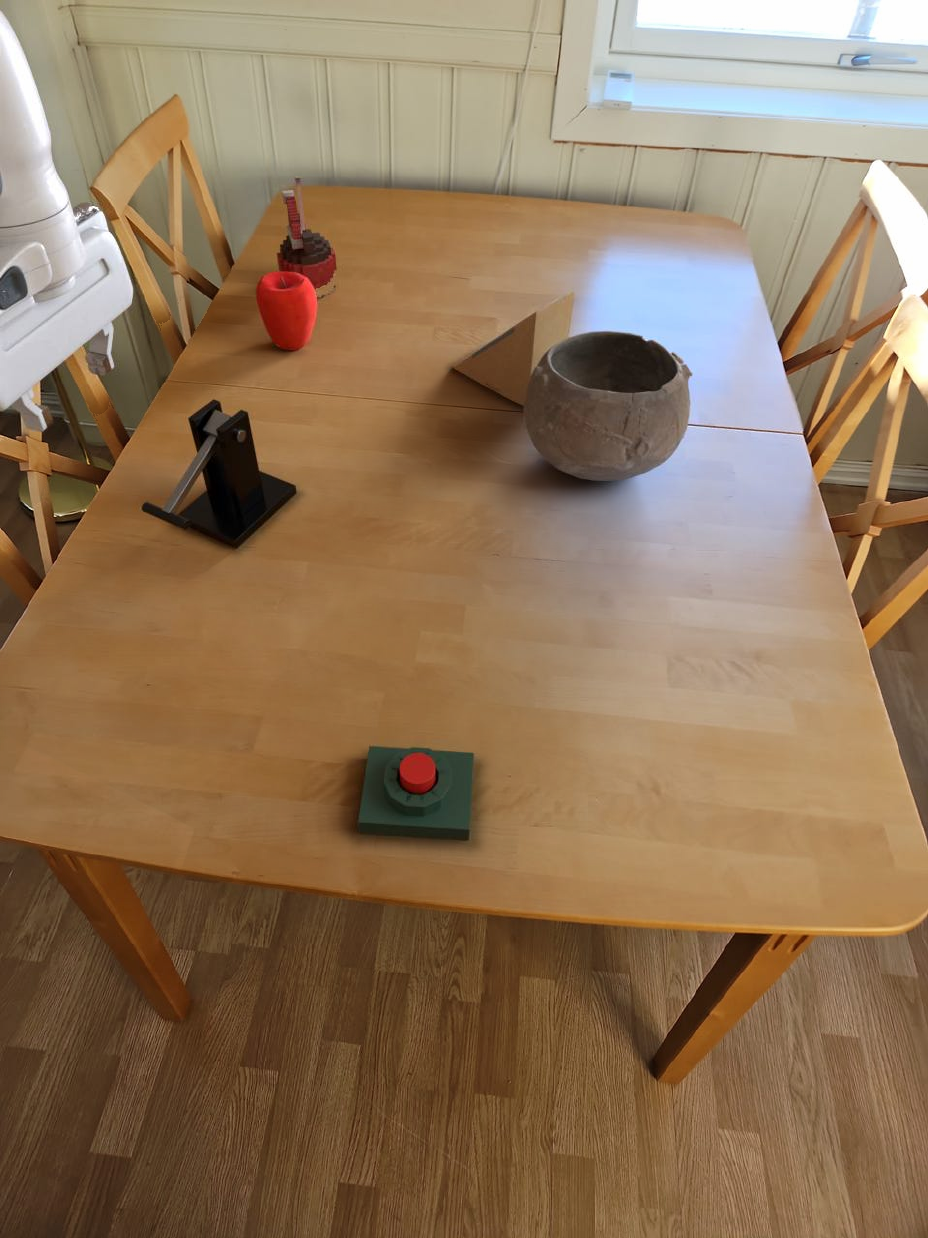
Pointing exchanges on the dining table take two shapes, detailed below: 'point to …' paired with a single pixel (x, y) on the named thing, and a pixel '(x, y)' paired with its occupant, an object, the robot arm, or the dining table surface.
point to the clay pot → (607, 405)
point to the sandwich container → (519, 350)
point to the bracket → (233, 482)
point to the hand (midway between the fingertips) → (73, 397)
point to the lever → (189, 476)
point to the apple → (287, 308)
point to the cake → (305, 246)
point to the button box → (417, 796)
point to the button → (417, 773)
